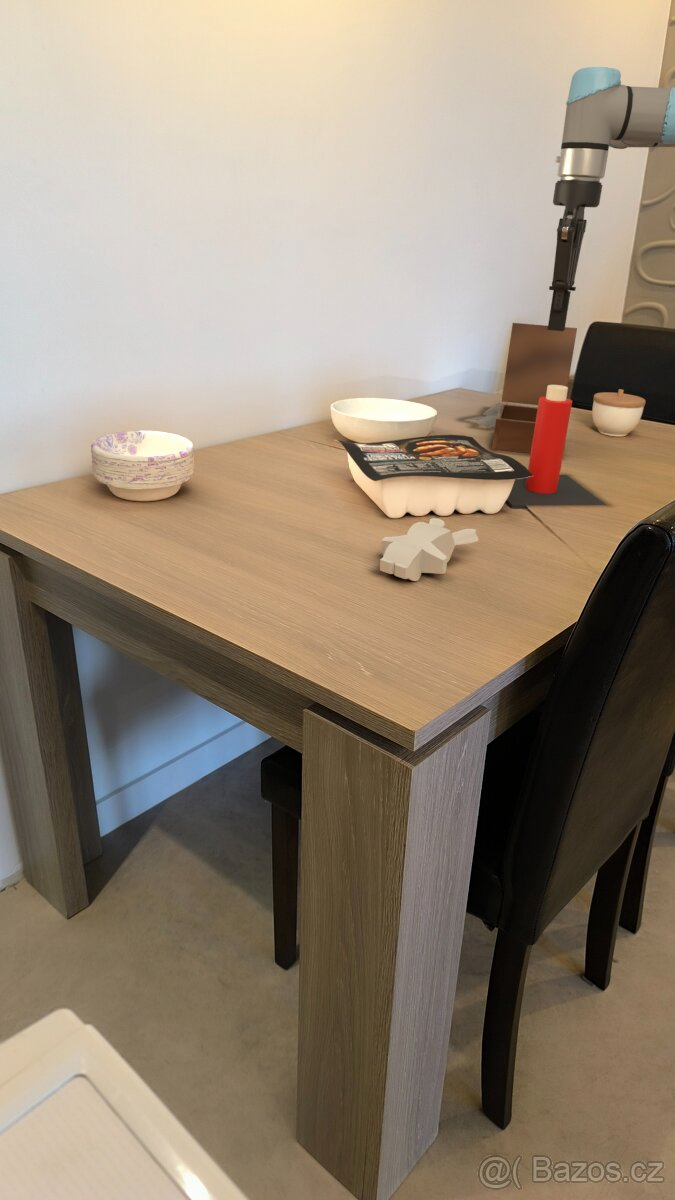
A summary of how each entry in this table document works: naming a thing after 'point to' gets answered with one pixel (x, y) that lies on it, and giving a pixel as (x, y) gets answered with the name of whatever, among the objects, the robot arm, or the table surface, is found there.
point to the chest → (514, 428)
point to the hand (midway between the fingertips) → (555, 329)
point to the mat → (551, 495)
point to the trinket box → (616, 412)
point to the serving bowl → (382, 419)
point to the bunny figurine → (422, 549)
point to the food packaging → (433, 475)
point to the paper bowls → (142, 464)
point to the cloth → (489, 416)
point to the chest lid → (537, 362)
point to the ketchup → (549, 440)
